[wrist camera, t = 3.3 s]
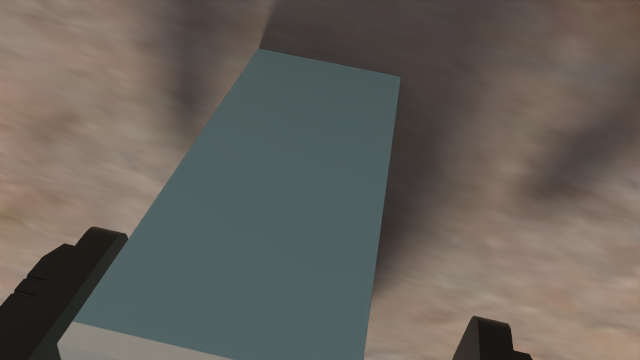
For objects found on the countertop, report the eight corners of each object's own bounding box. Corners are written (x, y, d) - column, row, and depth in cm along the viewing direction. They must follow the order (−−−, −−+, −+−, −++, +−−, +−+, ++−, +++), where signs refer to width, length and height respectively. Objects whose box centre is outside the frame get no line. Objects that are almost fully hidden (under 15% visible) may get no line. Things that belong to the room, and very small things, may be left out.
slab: (242, 307, 17) (130, 607, 11) (258, 47, 12) (56, 344, 6) (339, 330, 17) (281, 648, 11) (400, 75, 12) (355, 415, 5)
